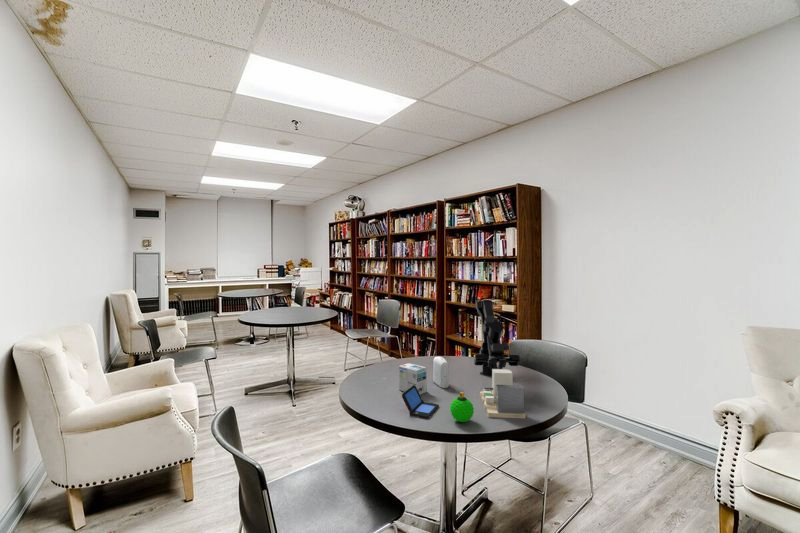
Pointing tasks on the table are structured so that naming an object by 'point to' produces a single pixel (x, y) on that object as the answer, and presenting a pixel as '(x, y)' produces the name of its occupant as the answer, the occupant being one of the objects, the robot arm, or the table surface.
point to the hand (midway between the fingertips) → (499, 378)
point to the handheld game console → (418, 404)
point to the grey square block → (510, 398)
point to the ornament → (462, 408)
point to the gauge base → (491, 406)
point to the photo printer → (441, 372)
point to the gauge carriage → (500, 379)
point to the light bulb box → (413, 377)
